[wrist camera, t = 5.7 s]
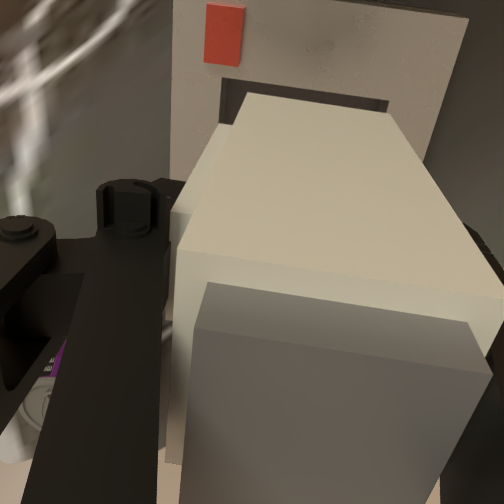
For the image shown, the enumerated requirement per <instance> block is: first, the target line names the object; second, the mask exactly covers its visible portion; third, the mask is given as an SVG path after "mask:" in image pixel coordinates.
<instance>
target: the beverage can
mask: <svg viewBox="0 0 504 504" xmlns="http://www.w3.org/2000/svg"><path fill="white" fill-rule="evenodd" d="M66 339H67V336H64V339H63V342H62V344H61V345H60V347H59V348H58V350H57V351H56V353H55V354H54V356H53V357H52V359H51V360H50V362H49V363H48V365H47V366H46V368H45V369H44V371H43V372H42V374H41V375H40V377H39V378H38V380H37V381H36V383H35V384H34V386H33V387H32V389H31V390H30V392H29V393H28V395H27V396H26V398H25V399H24V401H23V402H22V404H21V405H20V407H19V408H18V409H19V411H20V413H21V415H22V416H23V417H24V419H25V420H26V421H27V422H28V423H29V424H30V425H32V426H33V427H34V428H36V429H37V430H39V431H40V432H41V429H42V425H43V422H44V418H45V414H46V411H47V407H48V404H49V400H50V397H51V393H52V389H53V386H54V382H55V379H56V375H57V372H58V368H59V364H60V361H61V357H62V354H63V350H64V346H65V343H66Z"/></svg>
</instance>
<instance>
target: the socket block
mask: <svg viewBox="0 0 504 504" xmlns="http://www.w3.org/2000/svg"><path fill="white" fill-rule="evenodd" d="M468 22H469V19H468V18H466V17H464V16H461V15H459V14H457V13H453V12H446V11H438V10H431V9H423V8H416V7H409V6H401V5H394V4H386V3H379V2H372V1H364V0H173V41H172V92H171V142H170V179H173V180H179V181H186V182H187V180H188V178H189V177H190V175H191V173H192V171H193V169H194V167H195V166H196V164H197V162H198V160H199V158H200V157H201V155H202V153H203V151H204V149H205V148H206V146H207V144H208V142H209V140H210V138H211V137H212V135H213V133H214V131H215V129H216V128H217V126H218V124H219V123H221V124H228V125H233V123H234V121H235V119H236V117H237V115H238V112H239V110H240V108H241V106H242V104H243V101H244V99H245V97H246V95H247V92H250V93H256V94H263V95H269V96H276V97H283V98H289V99H296V100H302V101H309V102H315V103H322V104H329V105H335V106H342V107H348V108H355V109H361V110H368V111H375V112H381V113H388V114H390V115H391V117H392V118H393V120H394V121H395V123H396V124H397V126H398V127H399V129H400V130H401V132H402V133H403V135H404V136H405V138H406V139H407V141H408V142H409V144H410V145H411V147H412V148H413V150H414V151H415V153H416V154H417V156H418V157H419V159H420V160H421V162H422V163H423V160H424V157H425V154H426V151H427V148H428V145H429V141H430V138H431V135H432V132H433V129H434V126H435V123H436V120H437V117H438V114H439V111H440V108H441V105H442V102H443V98H444V95H445V92H446V89H447V86H448V83H449V80H450V77H451V74H452V71H453V68H454V65H455V62H456V59H457V55H458V52H459V49H460V46H461V43H462V40H463V37H464V34H465V31H466V28H467V25H468Z"/></svg>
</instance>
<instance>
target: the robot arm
mask: <svg viewBox="0 0 504 504" xmlns="http://www.w3.org/2000/svg"><path fill="white" fill-rule="evenodd" d="M232 126H233V125H228V124H221V123H219V124H218V126H217V128H216V129H215V131H214V133H213V135H212V137H211V138H210V140H209V142H208V144H207V146H206V148H205V149H204V151H203V153H202V155H201V157H200V158H199V160H198V162H197V164H196V166H195V167H194V169H193V171H192V173H191V175H190V177H189V178H188V180H187V182H186V181H179V180H173V179H166V178H159V179H157V180H155V181H153V182H149V181H144V180H137V179H119V180H114V181H109V182H106V183H104V184H102V185H100V186H99V187H98V189H97V190H96V200H97V225H98V229H97V232H96V236H95V237H91V238H81V239H56V231H55V228H54V225H53V224H51V223H50V222H48V221H47V220H45V219H41V218H37V217H30V216H25V215H16V217H15V216H8V217H6V218H3V219H0V435H1V433H2V432H3V430H4V429H5V427H6V426H7V424H8V423H9V421H10V420H11V418H12V417H13V416H14V414H15V413H16V411H17V410H18V408H19V407H20V405H21V404H22V402H23V401H24V399H25V398H26V396H27V395H28V393H29V392H30V390H31V389H32V387H33V386H34V384H35V383H36V381H37V380H38V378H39V377H40V375H41V374H42V372H43V371H44V369H45V368H46V366H47V365H48V363H49V362H50V360H51V359H52V357H53V356H54V354H55V353H56V351H57V350H58V348H59V347H60V345H61V344H62V342H63V339H64V336H67V339H66V343H65V346H64V350H63V354H62V357H61V361H60V364H59V368H58V372H57V375H56V379H55V382H54V386H53V389H52V393H51V397H50V400H49V404H48V407H47V411H46V414H45V418H44V422H43V425H42V429H41V432H40V436H39V439H38V443H37V447H36V450H35V454H34V457H33V461H32V464H31V468H30V472H29V475H28V479H27V482H26V486H25V489H24V493H23V497H22V500H21V504H156V501H157V500H156V498H157V468H158V466H157V465H158V435H159V402H160V369H161V337H162V312H163V309H164V307H165V304H166V317H165V320H169V321H173V311H174V293H175V275H176V257H177V247H178V245H179V243H180V241H181V239H182V236H183V234H184V232H185V230H186V227H187V225H188V223H189V221H190V219H191V216H192V214H193V212H194V210H195V208H196V205H197V203H198V201H199V199H200V197H201V194H202V192H203V190H204V188H205V185H206V183H207V181H208V179H209V177H210V174H211V172H212V170H213V168H214V166H215V163H216V161H217V159H218V157H219V154H220V152H221V150H222V148H223V146H224V143H225V141H226V139H227V137H228V135H229V132H230V130H231V128H232ZM462 224H463V225H464V227H465V228H466V230H467V231H468V233H469V234H470V236H471V237H472V239H473V240H474V242H475V243H476V245H477V246H478V248H479V250H480V251H481V253H482V254H483V256H484V257H485V259H486V260H487V262H488V263H489V265H490V266H491V268H492V269H493V271H494V272H495V274H496V275H497V277H498V278H499V280H500V281H501V283H502V284H503V286H504V270H503V268H502V267H501V265H500V264H499V263H498V261H497V260H496V258H495V257H494V255H493V254H491V251H490V250H489V248H488V247H487V245H485V243H484V241H483V240H482V238H481V237H480V235H479V234H478V233H477V232H476V231H474V230H473V229H472V228H470V227H469V226H467V225H466V224H465V223H462ZM485 359H486V361H487V363H488V365H489V367H490V369H491V371H492V373H493V376H492V378H491V380H490V382H489V384H488V386H487V387H486V389H485V391H484V393H483V395H482V397H481V399H480V401H479V403H478V404H477V406H476V408H475V410H474V412H473V414H472V416H471V418H470V420H469V421H468V423H467V425H466V427H465V429H464V431H463V433H462V435H461V437H460V438H459V440H458V442H457V444H456V446H455V448H454V450H453V452H452V454H451V456H450V457H449V459H448V461H447V463H446V465H445V467H444V469H443V471H442V473H441V474H440V503H441V504H504V321H503V323H502V325H501V327H500V329H499V331H498V333H497V335H496V337H495V339H494V341H493V343H492V345H491V347H490V349H489V351H488V352H487V354H486V356H485Z"/></svg>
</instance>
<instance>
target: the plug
mask: <svg viewBox="0 0 504 504" xmlns="http://www.w3.org/2000/svg"><path fill="white" fill-rule="evenodd" d="M503 321H504V286H503V284H502V283H501V281H500V280H499V278H498V277H497V275H496V274H495V272H494V271H493V269H492V268H491V266H490V265H489V263H488V262H487V260H486V259H485V257H484V256H483V254H482V253H481V251H480V250H479V248H478V246H477V245H476V243H475V242H474V240H473V239H472V237H471V236H470V234H469V233H468V231H467V230H466V228H465V227H464V225H463V224H462V222H461V221H460V219H459V218H458V216H457V215H456V213H455V212H454V210H453V209H452V207H451V206H450V204H449V203H448V201H447V200H446V198H445V197H444V195H443V194H442V192H441V191H440V189H439V188H438V186H437V185H436V183H435V182H434V180H433V178H432V177H431V175H430V174H429V172H428V171H427V169H426V168H425V166H424V165H423V163H422V162H421V160H420V159H419V157H418V156H417V154H416V153H415V151H414V150H413V148H412V147H411V145H410V144H409V142H408V141H407V139H406V138H405V136H404V135H403V133H402V132H401V130H400V129H399V127H398V126H397V124H396V123H395V121H394V120H393V118H392V117H391V115H390V114H388V113H381V112H375V111H368V110H361V109H355V108H348V107H342V106H335V105H329V104H322V103H315V102H309V101H302V100H296V99H289V98H283V97H276V96H269V95H263V94H256V93H250V92H247V95H246V97H245V99H244V101H243V104H242V106H241V108H240V110H239V112H238V115H237V117H236V119H235V121H234V123H233V126H232V128H231V130H230V132H229V135H228V137H227V139H226V141H225V143H224V146H223V148H222V150H221V152H220V154H219V157H218V159H217V161H216V163H215V166H214V168H213V170H212V172H211V174H210V177H209V179H208V181H207V183H206V185H205V188H204V190H203V192H202V194H201V197H200V199H199V201H198V203H197V205H196V208H195V210H194V212H193V214H192V216H191V219H190V221H189V223H188V225H187V227H186V230H185V232H184V234H183V236H182V239H181V241H180V243H179V245H178V247H177V257H176V275H175V293H174V311H173V328H172V346H171V364H170V382H169V399H168V417H167V435H166V454H165V462H166V463H172V464H178V465H182V472H181V484H180V496H179V504H425V503H426V501H427V499H428V497H429V495H430V493H431V491H432V490H433V488H434V486H435V484H436V482H437V480H438V478H439V476H440V474H441V473H442V471H443V469H444V467H445V465H446V463H447V461H448V459H449V457H450V456H451V454H452V452H453V450H454V448H455V446H456V444H457V442H458V440H459V438H460V437H461V435H462V433H463V431H464V429H465V427H466V425H467V423H468V421H469V420H470V418H471V416H472V414H473V412H474V410H475V408H476V406H477V404H478V403H479V401H480V399H481V397H482V395H483V393H484V391H485V389H486V387H487V386H488V384H489V382H490V380H491V378H492V376H493V373H492V371H491V369H490V367H489V365H488V363H487V361H486V359H485V356H486V354H487V352H488V351H489V349H490V347H491V345H492V343H493V341H494V339H495V337H496V335H497V333H498V331H499V329H500V327H501V325H502V323H503Z"/></svg>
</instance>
